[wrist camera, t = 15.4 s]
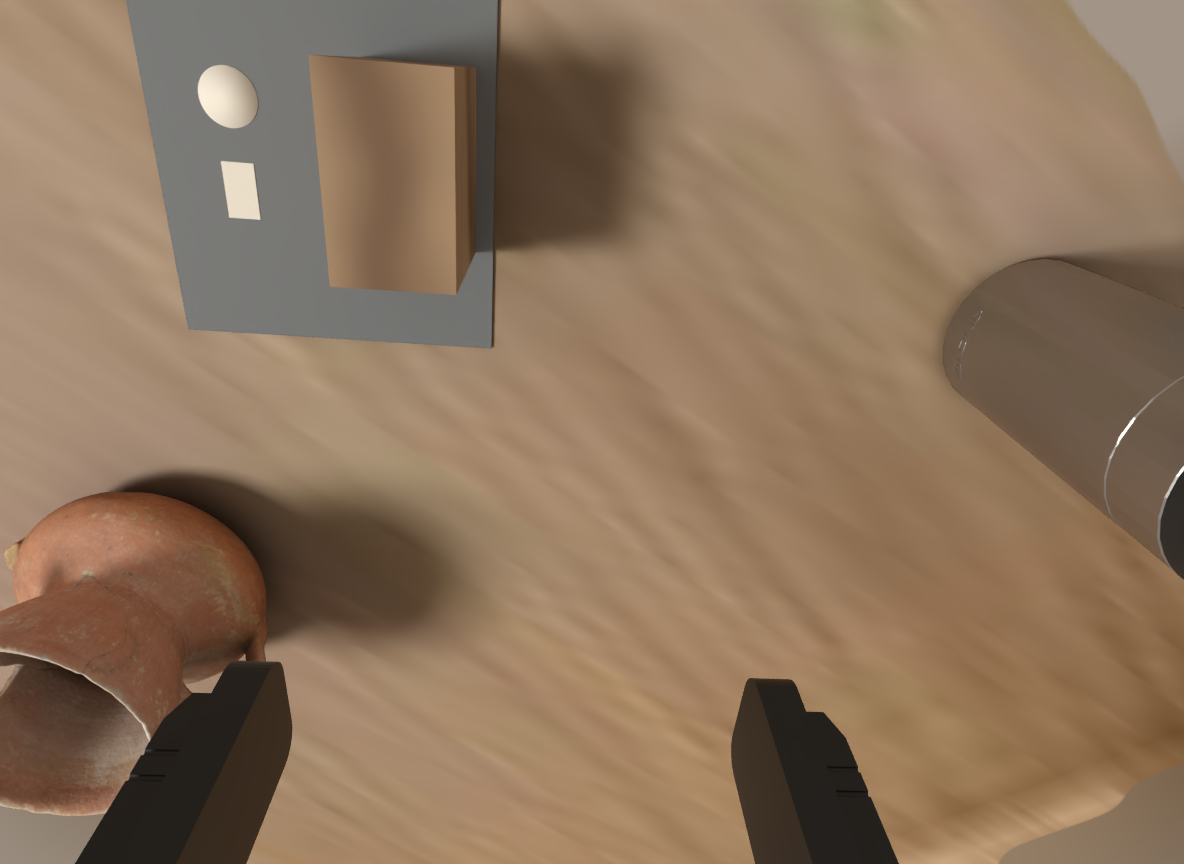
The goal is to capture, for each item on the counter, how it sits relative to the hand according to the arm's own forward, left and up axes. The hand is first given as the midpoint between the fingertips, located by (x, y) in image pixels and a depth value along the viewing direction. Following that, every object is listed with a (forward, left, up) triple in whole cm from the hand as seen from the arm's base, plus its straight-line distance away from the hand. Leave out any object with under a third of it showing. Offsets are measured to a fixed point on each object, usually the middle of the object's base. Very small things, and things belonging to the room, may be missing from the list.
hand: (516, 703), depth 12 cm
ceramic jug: (+24, +22, -30) cm, 44 cm away
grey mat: (+12, -5, -30) cm, 33 cm away
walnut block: (+7, -5, -30) cm, 31 cm away
